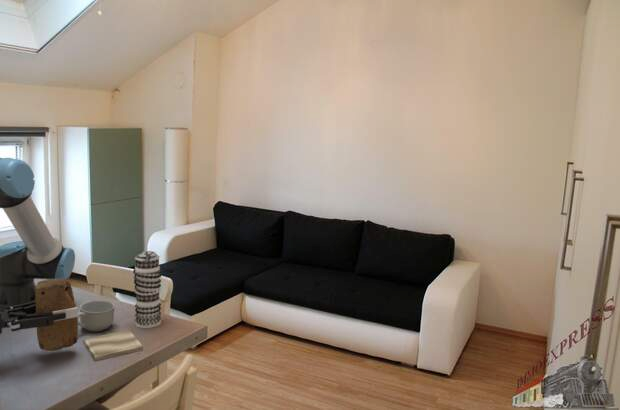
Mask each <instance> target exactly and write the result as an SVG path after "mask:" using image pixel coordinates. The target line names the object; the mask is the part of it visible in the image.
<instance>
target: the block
mask: <svg viewBox="0 0 620 410" xmlns="http://www.w3.org/2000/svg"><path fill="white" fill-rule="evenodd" d="M35 285H36V288H35V302H36V314H45V313H52V312H53V311H58V310H64V309H69V308H75V307H77V305H76V301H75V297H74V291H73V287H72V286H71V282H70V280H67V279H63V278H59V279H49V280H47V279H43V280H41V281H38V282H37V283H36V284H35ZM78 322H79V319H78V320H77V317H74V318H69V319H64V320H58V321H53V323H54V325H51V326H44V327H36V336H37V343H38V347H39V348H40V350H42V351H46V352H54V351H59V350H63V349H64V348H66V349H67V348H69V347H72V346H74V345H75V344H77V343H78V338H79V325H78Z"/></svg>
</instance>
